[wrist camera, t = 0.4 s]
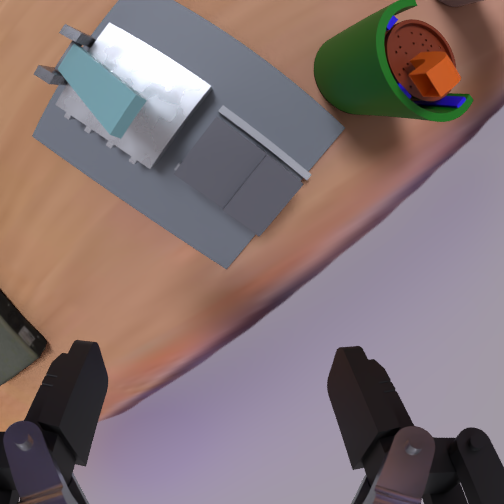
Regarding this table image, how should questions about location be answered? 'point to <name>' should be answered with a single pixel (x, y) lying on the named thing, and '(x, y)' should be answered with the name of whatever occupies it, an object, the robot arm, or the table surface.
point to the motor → (391, 69)
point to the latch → (238, 176)
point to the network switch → (16, 341)
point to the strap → (100, 89)
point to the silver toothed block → (142, 81)
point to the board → (197, 125)
